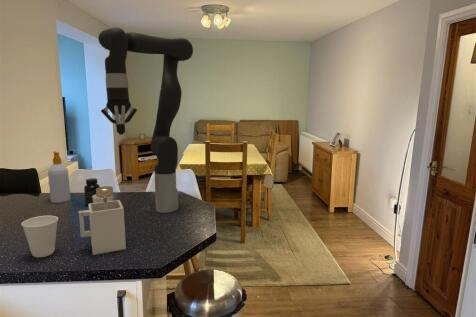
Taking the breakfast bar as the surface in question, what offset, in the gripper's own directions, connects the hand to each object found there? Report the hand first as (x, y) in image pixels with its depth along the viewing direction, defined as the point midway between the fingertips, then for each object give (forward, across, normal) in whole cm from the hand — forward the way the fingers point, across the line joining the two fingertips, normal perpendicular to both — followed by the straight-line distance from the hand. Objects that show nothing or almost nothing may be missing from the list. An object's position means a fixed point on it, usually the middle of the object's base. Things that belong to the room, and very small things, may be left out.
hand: (121, 134), depth 121 cm
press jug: (+35, +11, +16) cm, 41 cm away
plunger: (+34, +9, +16) cm, 39 cm away
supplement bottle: (+36, +11, -35) cm, 51 cm away
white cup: (+36, +8, -12) cm, 39 cm away
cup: (+35, +28, +13) cm, 47 cm away
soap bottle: (+36, +24, -48) cm, 65 cm away
